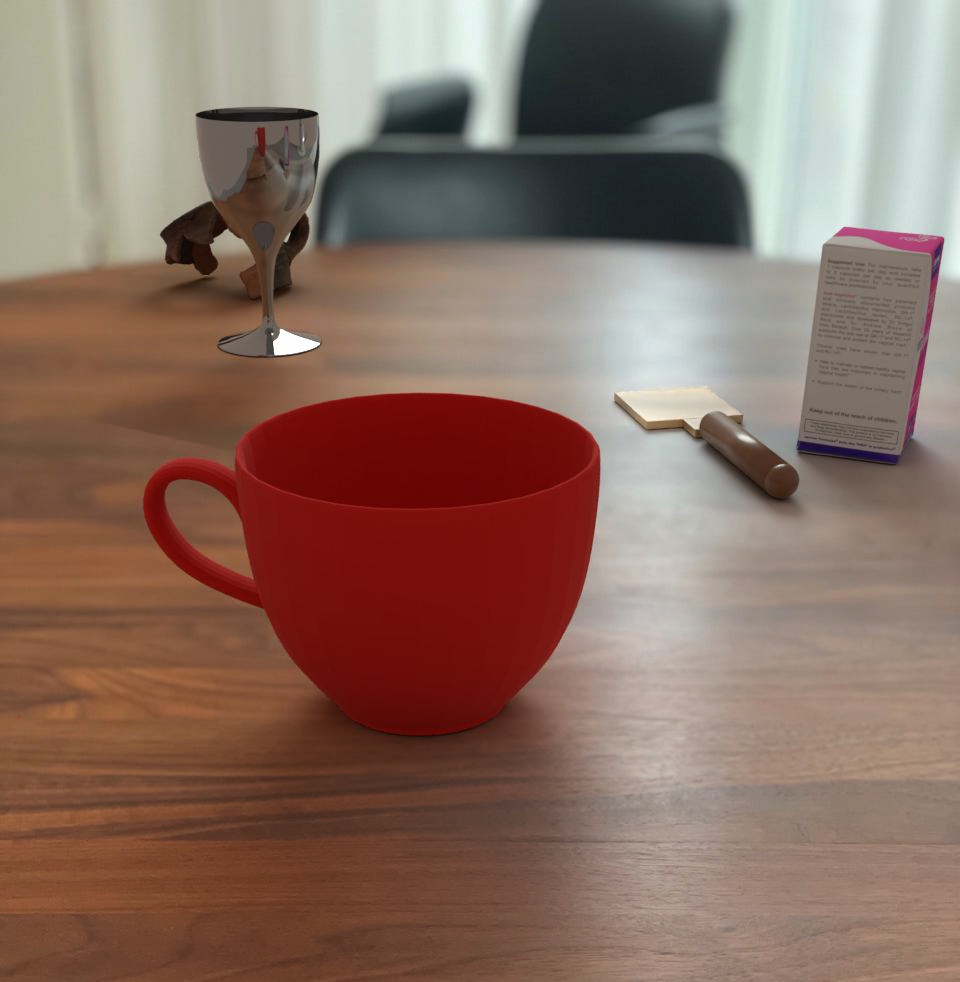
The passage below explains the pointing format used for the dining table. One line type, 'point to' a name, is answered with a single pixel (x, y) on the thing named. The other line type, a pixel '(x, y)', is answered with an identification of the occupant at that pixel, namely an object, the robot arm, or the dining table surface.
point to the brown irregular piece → (205, 223)
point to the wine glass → (261, 199)
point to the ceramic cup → (406, 547)
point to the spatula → (712, 431)
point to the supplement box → (868, 343)
